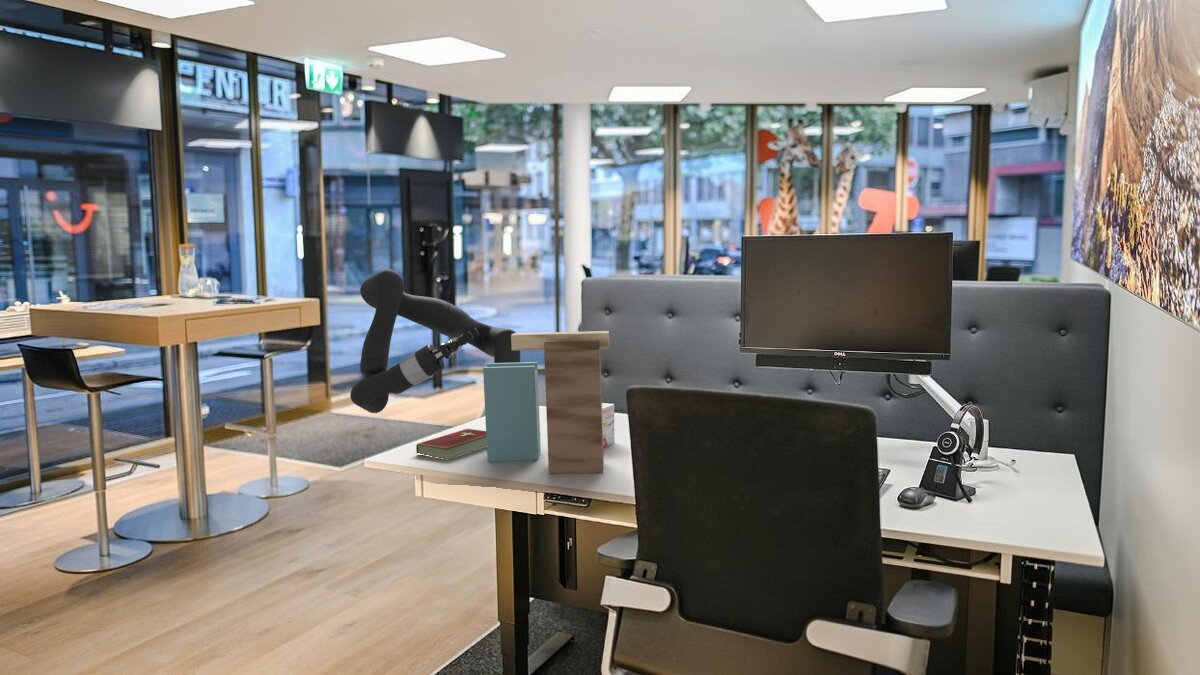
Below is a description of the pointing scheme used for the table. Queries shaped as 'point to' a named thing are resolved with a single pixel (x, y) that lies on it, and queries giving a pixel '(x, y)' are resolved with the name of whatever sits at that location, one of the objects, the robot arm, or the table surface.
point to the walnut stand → (574, 407)
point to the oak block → (556, 339)
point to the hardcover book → (453, 444)
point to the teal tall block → (512, 411)
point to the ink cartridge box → (608, 424)
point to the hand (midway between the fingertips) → (474, 333)
